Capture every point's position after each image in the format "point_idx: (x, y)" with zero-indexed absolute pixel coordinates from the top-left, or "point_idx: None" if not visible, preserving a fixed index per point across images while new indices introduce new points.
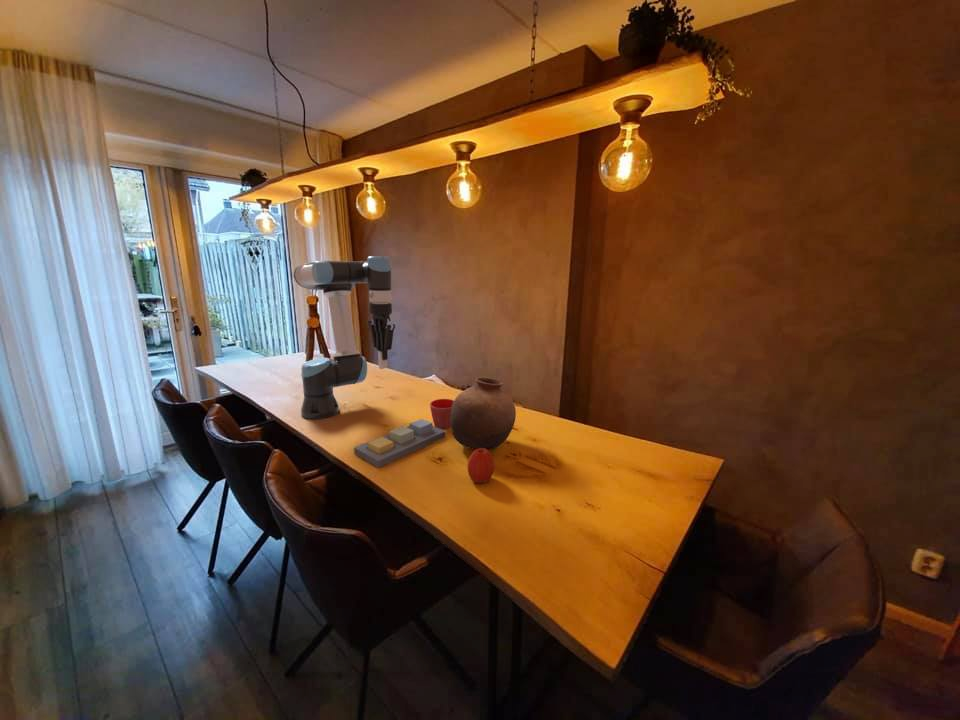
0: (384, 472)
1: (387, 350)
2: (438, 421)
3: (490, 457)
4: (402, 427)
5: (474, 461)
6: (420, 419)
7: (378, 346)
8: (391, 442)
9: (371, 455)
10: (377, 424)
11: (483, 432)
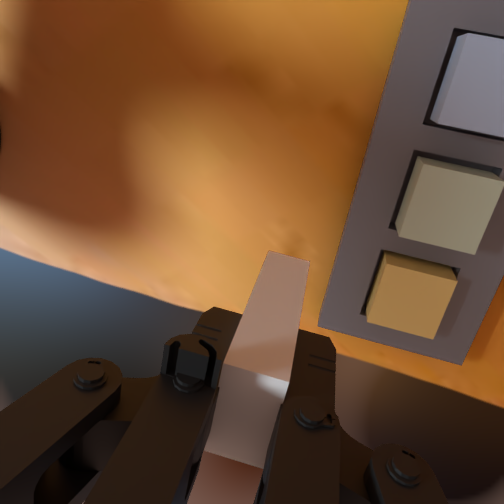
0: (490, 363)
1: (345, 438)
2: None
3: None
4: (431, 179)
5: None
6: (467, 46)
7: (186, 499)
8: (452, 287)
9: (414, 347)
10: (209, 84)
11: None
